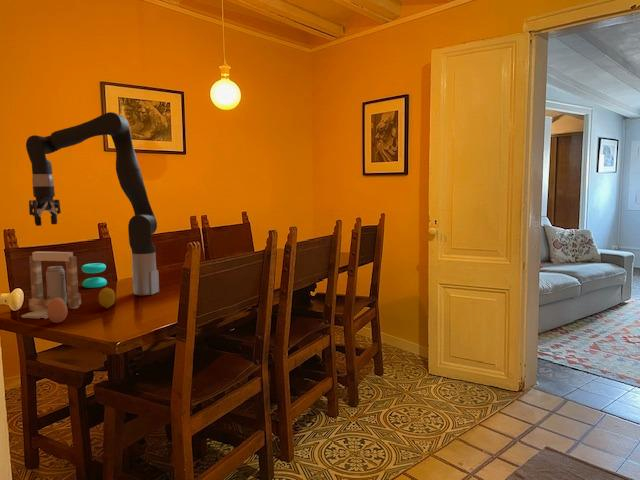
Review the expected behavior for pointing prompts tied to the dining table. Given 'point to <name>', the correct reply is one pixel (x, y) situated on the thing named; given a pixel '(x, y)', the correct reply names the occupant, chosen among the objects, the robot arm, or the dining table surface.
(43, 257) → the bar
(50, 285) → the energy drink can
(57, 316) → the egg
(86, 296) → the dining table surface
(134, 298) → the dining table surface
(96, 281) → the donuts
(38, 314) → the coaster
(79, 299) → the cradle
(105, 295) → the lemon
